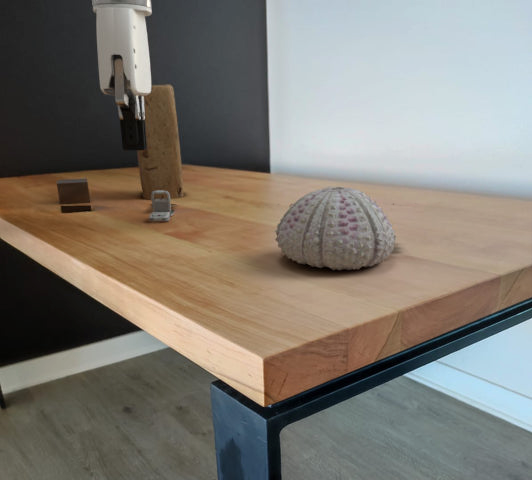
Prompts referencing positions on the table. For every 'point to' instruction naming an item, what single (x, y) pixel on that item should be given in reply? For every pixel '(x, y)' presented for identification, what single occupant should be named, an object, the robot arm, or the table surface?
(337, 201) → the sea urchin shell
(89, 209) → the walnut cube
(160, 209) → the strap clip
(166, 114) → the block
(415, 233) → the table surface
